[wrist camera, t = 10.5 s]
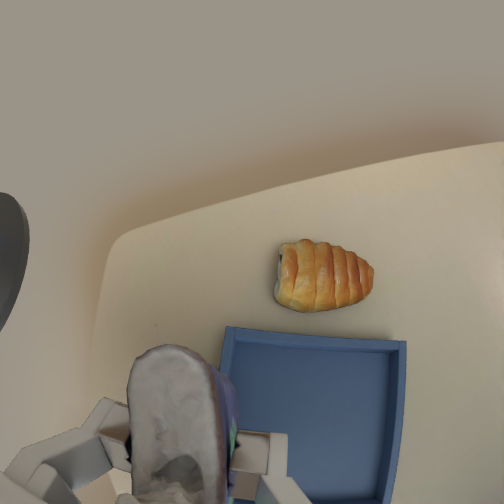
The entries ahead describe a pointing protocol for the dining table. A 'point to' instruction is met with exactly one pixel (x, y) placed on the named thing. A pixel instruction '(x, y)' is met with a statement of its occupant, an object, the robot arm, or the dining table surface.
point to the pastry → (320, 277)
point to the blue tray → (323, 408)
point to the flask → (180, 429)
